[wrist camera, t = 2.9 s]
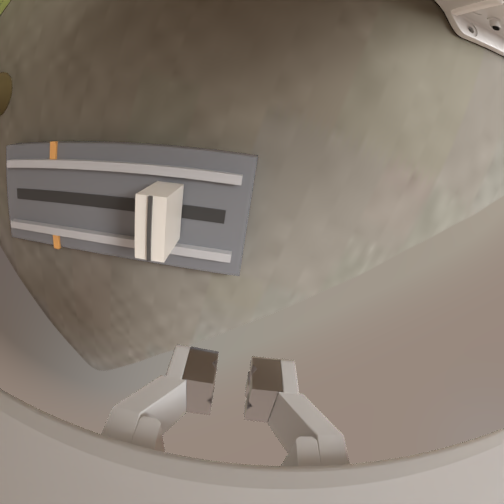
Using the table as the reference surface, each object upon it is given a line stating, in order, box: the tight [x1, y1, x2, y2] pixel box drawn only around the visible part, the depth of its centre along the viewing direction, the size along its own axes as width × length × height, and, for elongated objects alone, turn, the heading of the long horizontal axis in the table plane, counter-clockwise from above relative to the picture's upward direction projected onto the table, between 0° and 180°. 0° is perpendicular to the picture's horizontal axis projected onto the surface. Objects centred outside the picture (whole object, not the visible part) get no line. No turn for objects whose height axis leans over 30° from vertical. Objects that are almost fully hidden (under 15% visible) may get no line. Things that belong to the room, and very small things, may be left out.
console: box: [6, 141, 258, 276], centre depth 26 cm, size 28×11×3 cm, turn 81°
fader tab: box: [135, 181, 184, 263], centre depth 23 cm, size 2×5×5 cm, turn 171°
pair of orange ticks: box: [50, 141, 61, 249], centre depth 25 cm, size 1×11×1 cm, turn 171°
